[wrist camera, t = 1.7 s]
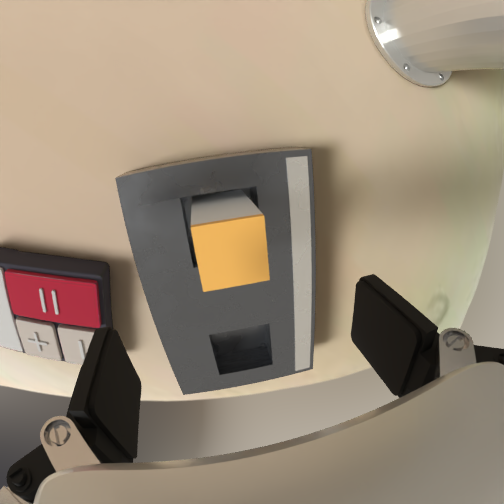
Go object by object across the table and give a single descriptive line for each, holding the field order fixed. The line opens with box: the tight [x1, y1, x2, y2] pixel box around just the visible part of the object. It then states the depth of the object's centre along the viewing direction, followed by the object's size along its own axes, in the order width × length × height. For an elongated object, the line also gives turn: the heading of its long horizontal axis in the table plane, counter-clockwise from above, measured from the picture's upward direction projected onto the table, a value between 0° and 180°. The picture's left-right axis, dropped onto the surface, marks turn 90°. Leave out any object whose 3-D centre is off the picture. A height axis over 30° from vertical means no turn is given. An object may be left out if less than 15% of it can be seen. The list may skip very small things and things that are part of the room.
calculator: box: [0, 247, 113, 365], centre depth 22 cm, size 11×4×15 cm
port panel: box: [116, 147, 316, 395], centre depth 24 cm, size 14×22×4 cm, turn 6°
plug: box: [191, 190, 270, 292], centre depth 20 cm, size 4×4×8 cm
